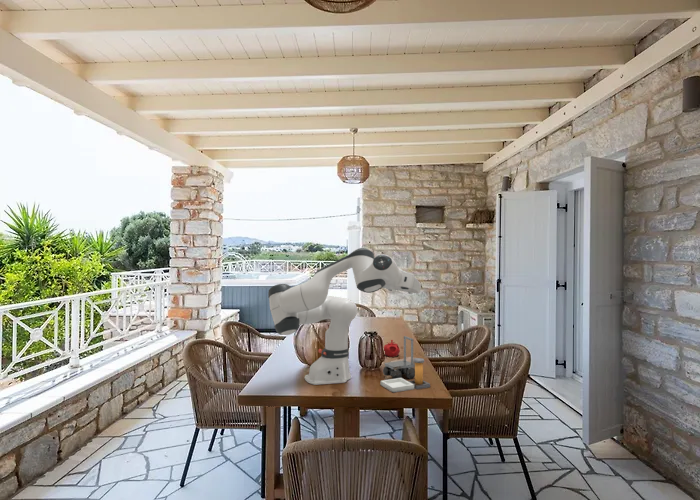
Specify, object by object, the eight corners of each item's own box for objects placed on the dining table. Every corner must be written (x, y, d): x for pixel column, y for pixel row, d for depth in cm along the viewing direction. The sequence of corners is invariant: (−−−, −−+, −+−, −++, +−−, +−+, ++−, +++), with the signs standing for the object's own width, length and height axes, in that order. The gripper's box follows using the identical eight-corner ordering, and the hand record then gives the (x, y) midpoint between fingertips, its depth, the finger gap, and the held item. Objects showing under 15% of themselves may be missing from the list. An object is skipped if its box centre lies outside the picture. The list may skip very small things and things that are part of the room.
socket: (416, 389, 176) (416, 385, 176) (407, 384, 182) (407, 381, 182) (430, 387, 179) (430, 383, 179) (421, 382, 185) (421, 379, 185)
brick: (399, 373, 201) (399, 363, 201) (388, 369, 208) (388, 360, 208) (422, 368, 211) (422, 359, 211) (410, 364, 218) (410, 356, 218)
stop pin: (417, 388, 177) (417, 361, 178) (411, 384, 182) (411, 358, 182) (426, 386, 179) (426, 360, 180) (420, 383, 184) (420, 357, 184)
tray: (392, 392, 171) (392, 387, 171) (380, 385, 181) (380, 380, 182) (414, 389, 176) (414, 384, 176) (401, 382, 186) (401, 377, 186)
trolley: (392, 381, 186) (392, 341, 187) (383, 376, 195) (383, 337, 195) (416, 378, 192) (415, 339, 192) (406, 373, 200) (405, 335, 200)
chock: (387, 382, 185) (387, 377, 185) (385, 381, 187) (385, 375, 187) (392, 382, 186) (392, 376, 186) (389, 380, 188) (389, 375, 188)
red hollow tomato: (379, 355, 236) (379, 340, 236) (391, 353, 243) (391, 337, 243) (391, 358, 229) (391, 342, 229) (403, 355, 235) (403, 339, 235)
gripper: (367, 281, 167) (377, 293, 178) (414, 288, 158) (421, 301, 169) (371, 268, 169) (380, 280, 180) (417, 274, 160) (424, 287, 171)
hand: (400, 290), depth 175 cm, fingers open, 8 cm apart
